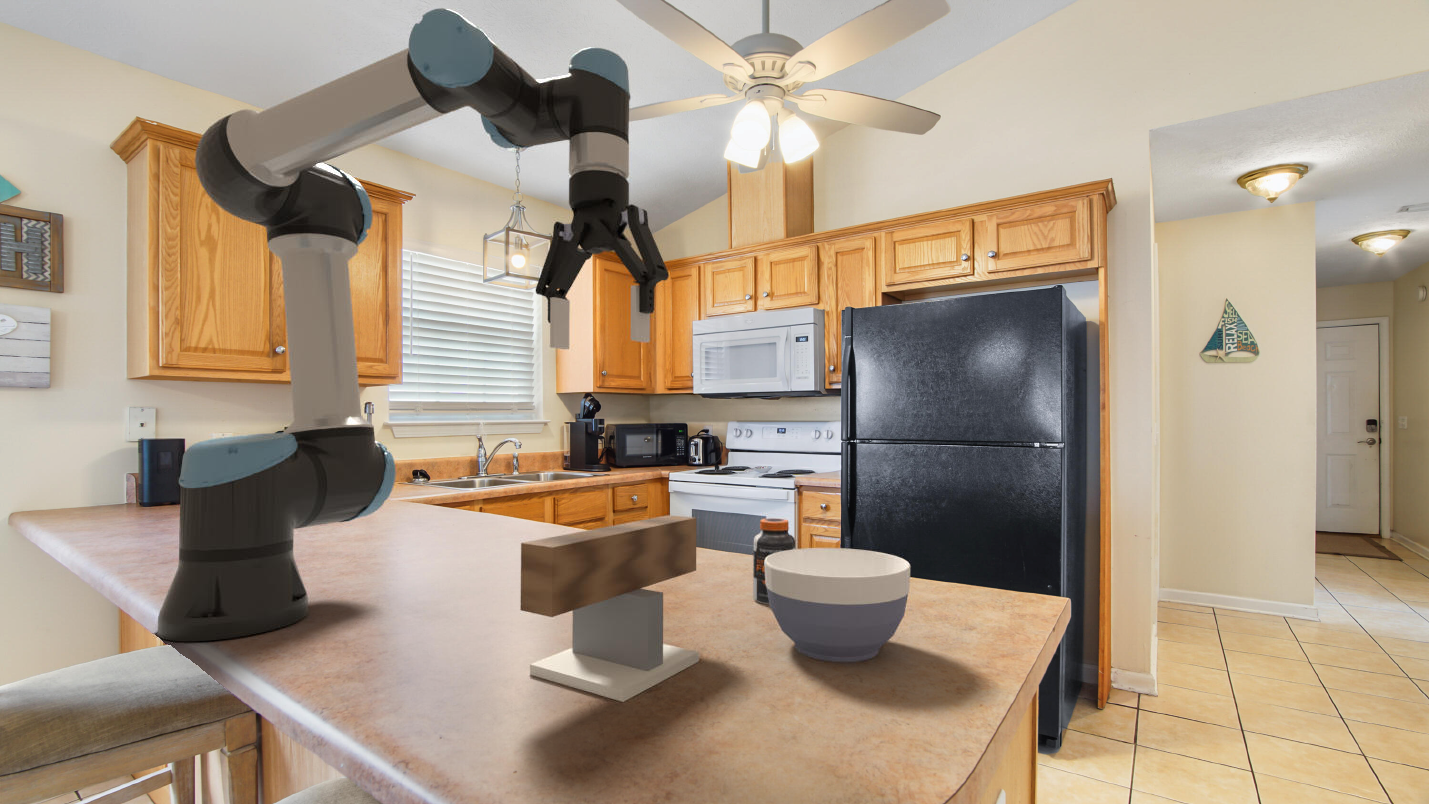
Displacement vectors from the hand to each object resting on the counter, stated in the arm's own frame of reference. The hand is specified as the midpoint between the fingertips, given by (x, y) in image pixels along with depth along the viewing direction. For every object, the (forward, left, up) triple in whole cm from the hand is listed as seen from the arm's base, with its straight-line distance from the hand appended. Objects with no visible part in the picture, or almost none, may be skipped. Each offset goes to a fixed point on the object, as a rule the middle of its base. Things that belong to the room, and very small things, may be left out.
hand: (598, 345), depth 83 cm
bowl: (+28, +8, -35) cm, 46 cm away
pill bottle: (+13, +22, -35) cm, 43 cm away
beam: (+12, -10, -27) cm, 31 cm away
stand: (+12, -10, -35) cm, 38 cm away
